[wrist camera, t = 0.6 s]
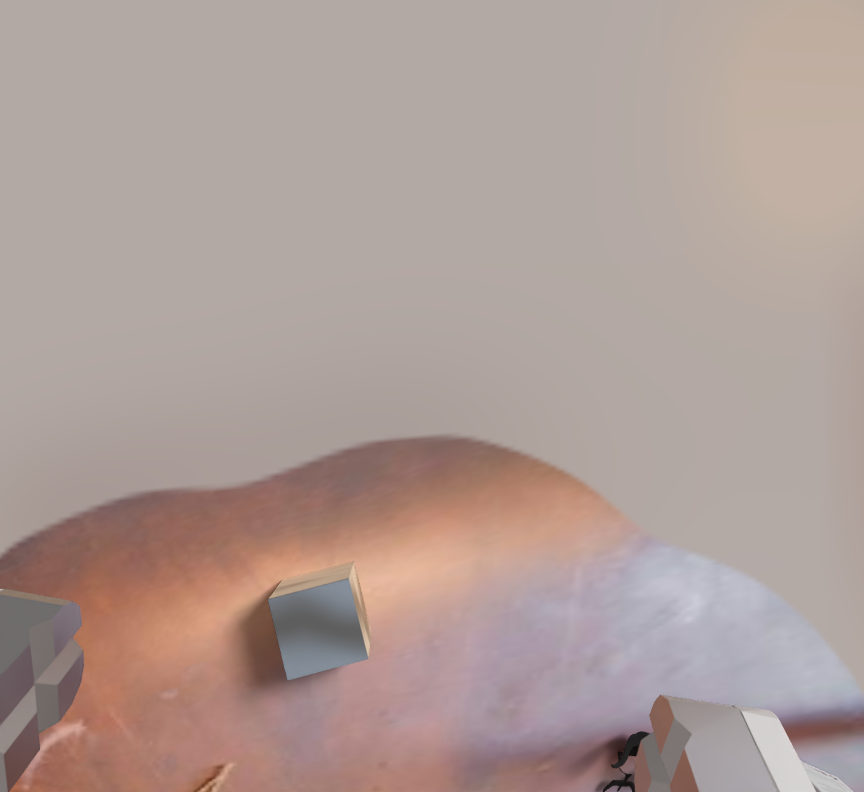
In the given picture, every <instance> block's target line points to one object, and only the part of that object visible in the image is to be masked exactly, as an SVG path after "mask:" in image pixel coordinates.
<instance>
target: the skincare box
mask: <svg viewBox="0 0 864 792" xmlns="http://www.w3.org/2000/svg"><path fill="white" fill-rule="evenodd" d="M801 763H802V765H803V767H804V769H805V771H806V773H807V775H808V777H809V779H810V781H811V783H812V784H813V786H814V788H815V790H816V792H853V791H852V790H851V789H850V788H849V787H847V786H846V785H845V784H844V783H843V782H842V781H841V780H840V779H838V778H837V777H835V776H833V775H831V774H828V773H826V772H824V771H822V770H820V769H817V768H815V767H813V766H810V765H808V764H806V763H804V762H801Z"/></svg>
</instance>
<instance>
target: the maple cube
mask: <svg viewBox="0 0 864 792" xmlns="http://www.w3.org/2000/svg"><path fill="white" fill-rule="evenodd" d="M268 602H269V606H270V611H271V615H272V619H273V623H274V627H275V631H276V635H277V639H278V643H279V647H280V651H281V656H282V660H283V664H284V668H285V672H286V676H287V680H291V679H295V678H299V677H302V676H306V675H310V674H314V673H317V672H321V671H325V670H329V669H332V668H336V667H340V666H344V665H348V664H351V663H355V662H359V661H363V660H366V659H368V656H369V649H370V641H371V634H372V632H371V628H370V624H369V620H368V616H367V612H366V608H365V604H364V600H363V596H362V592H361V588H360V583H359V579H358V575H357V571H356V567H355V563H354V561H353V562H349V563H345V564H342V565H338V566H334V567H330V568H326V569H322V570H318V571H314V572H310V573H307V574H303V575H299V576H295V577H291V578H287V579H283V580H282V581H281V582H280V583H279V585H278V586H277V588H276V589H275V591H274V592H273V593H272V595H271V596H270V598H269V599H268Z"/></svg>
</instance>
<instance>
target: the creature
mask: <svg viewBox="0 0 864 792" xmlns="http://www.w3.org/2000/svg"><path fill="white" fill-rule="evenodd" d="M648 735H649V733H647V732H642V731H641V732H638V733H636V734H632V735H631V736H630V737H629V739H628V741H627V744H626V746H625V749H624V752H623V754H622V753H621V752H618V757H619V762H618V763H616V764H615V765H612V764H611V766H612V767H613V768H618V767H620V766H622V765H623V764H624V763H625V762H626V760H627V758H628V756H637V753H638V749H639V746H640V742H641V740H642V739H643V738H645V737H646V736H648ZM621 756H622V757H621ZM619 769H620V768H619ZM620 770H621V769H620ZM625 774H626V773H625ZM631 775H632V774H626V779H625V780H624V781H623V780H613V781H612V782H610V783H609V784H608V785H607V786H606V787H605V788H604V789H603V792H605V791H606V790H607V789H609V788H610V787H612V786H615V785H617V786H620V787H619V788H618V790H617V792H618V791H619V790H620V788H621V787H622V786H629V787H630V788H631V789H632V792H635V785H634V784H633V783H632V782H628V781H626V780H627V779H628V778H629V777H630V776H631Z"/></svg>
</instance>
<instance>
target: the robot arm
mask: <svg viewBox="0 0 864 792" xmlns="http://www.w3.org/2000/svg"><path fill="white" fill-rule="evenodd" d="M81 626H82V622H81V613H80V606H79V605H77V604H76V603H74V602H73V601H68V600H63V599H57V598H52V597H46V596H41V595H36V594H30V593H25V592H19V591H14V590H9V589H0V792H10V790H11V789H12V787H13V786H14V785H15V783H16V782H17V781H18V779H19V778H20V776H21V775H22V774H23V772H24V771H25V769H26V768H27V767H28V765H29V764H30V763H31V761H32V760H33V758H34V757H35V756H36V754H37V753H38V751H39V750H40V743H39V733H40V732H42V731H44V730H46V729H47V728H49V727H51V726H53V725H55V724H56V723H58V722H60V721H61V719H62V718H63V716H64V715H65V713H66V712H67V710H68V709H69V707H70V706H71V705H72V703H73V700H74V698H75V695H76V693H77V691H78V688H79V686H80V683H81V679H82V673H83V667H84V655H83V650H82V649H81V647H80V646H79V645H78V644H77V642H76V641H75V640H74V638H73V636H74V635H75V633H76V632H77V631H78V629H79V628H80V627H81ZM649 716H650V720H651V723H652V727H653V730H654V732H652V733H651V734H649V735H648V736H646V737H645V738H643V739H642V740H641V742H640V746H639V749H638V753H637V756H636V762H635V776H634V783H635V792H816V790H815V788H814V786H813V784H812V783H811V781H810V779H809V777H808V775H807V773H806V771H805V769H804V767H803V765H802V763H801V761H800V759H799V758H798V756H797V754H796V752H795V750H794V748H793V746H792V744H791V742H790V740H789V738H788V736H787V734H786V732H785V731H784V729H783V727H782V725H781V723H780V721H779V719H778V717H777V716H776V715H775V714H774V713H772V712H771V711H770V710H764V709H757V708H750V707H743V706H736V705H733V706H730V705H725V704H719V703H712V702H706V701H699V700H692V699H686V698H679V697H672V696H666V695H660V696H659V697H658V698H657V699H656V700H655V702H654V704H653V707H652V710H651V713H650V715H649Z"/></svg>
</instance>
